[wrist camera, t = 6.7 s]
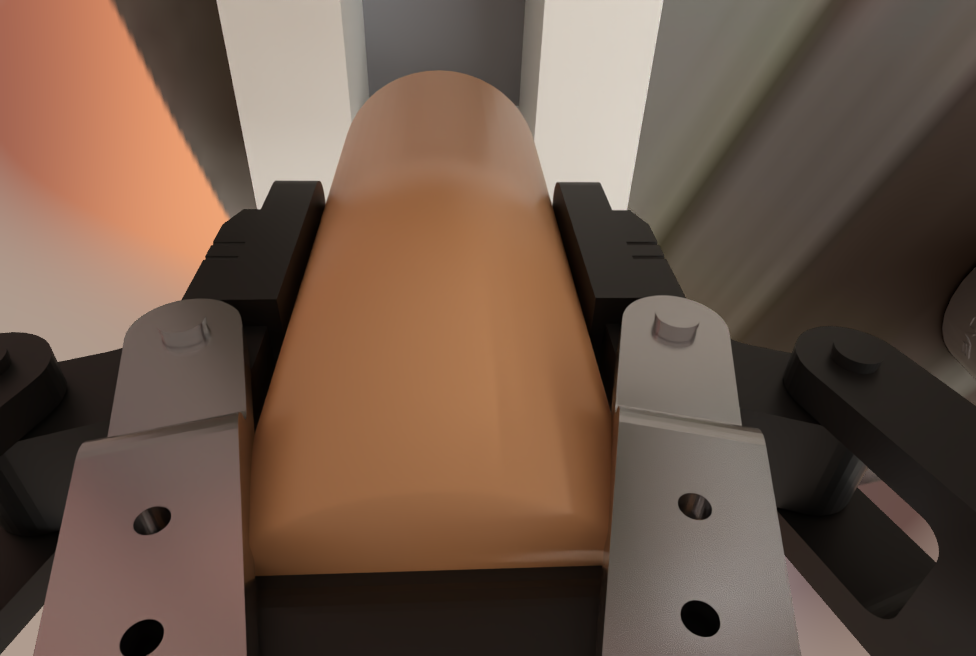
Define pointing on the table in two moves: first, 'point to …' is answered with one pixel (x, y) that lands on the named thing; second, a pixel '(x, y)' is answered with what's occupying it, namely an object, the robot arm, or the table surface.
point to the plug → (434, 358)
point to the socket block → (449, 47)
